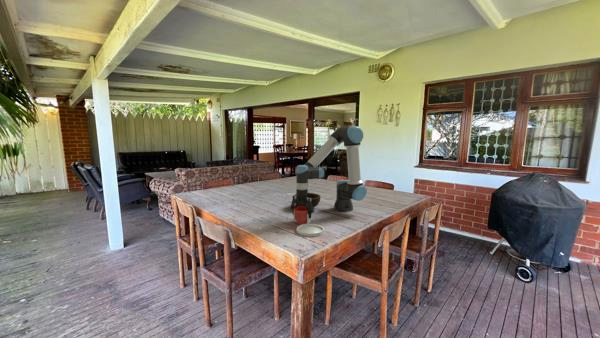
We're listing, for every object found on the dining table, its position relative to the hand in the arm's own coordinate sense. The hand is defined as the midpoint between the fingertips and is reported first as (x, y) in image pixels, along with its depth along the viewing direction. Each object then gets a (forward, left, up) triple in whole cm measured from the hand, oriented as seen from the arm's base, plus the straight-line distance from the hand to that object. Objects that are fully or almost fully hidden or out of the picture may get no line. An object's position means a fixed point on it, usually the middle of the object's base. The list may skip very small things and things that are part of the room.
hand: (301, 221), depth 174 cm
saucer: (+10, +13, -1) cm, 16 cm away
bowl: (-31, -16, -1) cm, 35 cm away
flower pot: (0, 0, -1) cm, 1 cm away
